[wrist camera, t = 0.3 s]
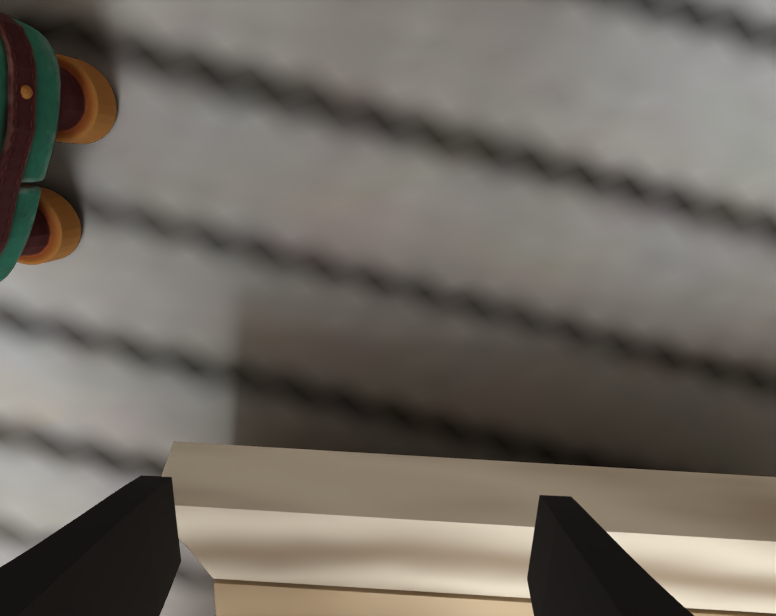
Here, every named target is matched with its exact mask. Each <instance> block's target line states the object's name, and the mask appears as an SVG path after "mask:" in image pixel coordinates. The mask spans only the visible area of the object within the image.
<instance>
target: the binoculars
mask: <svg viewBox="0 0 776 616" xmlns="http://www.w3.org/2000/svg"><path fill="white" fill-rule="evenodd" d="M116 111H117V106H116V99H115V96H114V93H113V90H112V88H111V86H110V84H109V83H108V81H107V80H106V78H105V77H104V76H103V75H102V74H101V73H100V72H99V71H98V70H97V69H96V68H94V67H93V66H92V65H90V64H88V63H86V62H84V61H82V60H79V59H75V58H71V57H68V56H64V55H60V54H55V52H54V49H53V48H52V46H51V44H50V43H49V41H48V40H47V39H46V38H45V37H44V36H43V35H42V34H41V33H40V32H39V31H37V30H36V29H34V28H33V27H31V26H29V25H27V24H25V23H23V22H20V21H18V20H16V19H14V18H11V17H10V16H8V15H6V14H3V13H1V12H0V281H2V280H3V279H4V278H6V277H7V276H8V274H9V273H10V272H11V270H12V269H13V268H14V266H15V264H16V263H17V262H19V263H23V264H28V265H36V264H41V263H45V262H49V261H53V260H57V259H61V258H64V257H66V256H68V255H70V254H71V253H72V252H73V251H74V250H75V249H76V247H77V246H78V244H79V242H80V238H81V225H80V221H79V218H78V216H77V214H76V212H75V210H74V209H73V207H72V206H71V205H70V203H69V202H67V201H66V200H65V199H64V198H63V197H62V196H60V195H59V194H57V193H55V192H54V191H51V190H49V189H46V188H43V187H38V186H32V185H21V182H37V181H42V180H43V179H44V178H45V176H46V172H47V169H48V165H49V162H50V158H51V155H52V151H53V147H54V142H55V141H57V142H64V143H75V144H88V143H92V142H96V141H98V140H99V139H101V138H103V137H104V136H105V135H106V134H107V133H109V131H110V130H111V128H112V126H113V125H114V122H115V118H116ZM20 185H21V186H20Z"/></svg>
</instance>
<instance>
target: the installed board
mask: <svg viewBox="0 0 776 616" xmlns="http://www.w3.org/2000/svg"><path fill="white" fill-rule="evenodd" d="M214 595H215V608H216V616H534V613H533V608H532V603H531V598H518V597H502V596H486V595H470V594H454V593H438V592H422V591H406V590H390V589H374V588H357V587H341V586H325V585H309V584H293V583H277V582H261V581H245V580H229V579H215V581H214ZM686 609H687V610H688V611H689V612H691V613H692V614H693V615H694V616H776V614H775V613H759V612H743V611H727V610H711V609H695V608H686Z"/></svg>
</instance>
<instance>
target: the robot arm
mask: <svg viewBox="0 0 776 616" xmlns="http://www.w3.org/2000/svg"><path fill="white" fill-rule="evenodd" d="M180 562H181V557H180V548H179V539H178V529H177V520H176V511H175V502H174V493H173V484H172V477H159V476H140V477H138V478H137V479H135V480H133V481H132V482H130V483H128V484H127V485H125V486H124V487H122V488H121V489H119V490H118V491H116V492H115V493H113V494H112V495H110V496H109V497H107V498H106V499H104V500H103V501H101V502H100V503H98V504H97V505H95V506H94V507H92V508H91V509H89V510H88V511H86V512H85V513H84V514H82V515H81V516H79V517H78V518H76V519H75V520H73V521H72V522H70V523H69V524H67V525H66V526H64V527H63V528H61V529H60V530H58V531H57V532H55V533H54V534H52V535H51V536H49V537H48V538H46V539H45V540H43V541H42V542H40V543H39V544H37V545H35V546H34V547H32V548H31V549H29V550H28V551H26V552H24V553H23V554H21V555H20V556H18V557H16V558H15V559H13V560H12V561H10V562H8V563H7V564H5V565H3V566H2V567H0V616H159V615H160V613H161V610H162V608H163V606H164V603H165V601H166V598H167V596H168V593H169V591H170V588H171V586H172V583H173V581H174V578H175V575H176V573H177V570H178V567H179V565H180ZM527 582H528V587H529V592H530V598H531V603H532V608H533V613H534V616H694V615H693V614H692V613H691V612H689V611H688V610H687V609H686V608H685V607H684V606H683V605H682V604H680V603H679V602H678V601H677V600H676V599H675V598H674V597H673V596H672V595H671V594H670V593H668V592H667V591H666V590H665V589H664V588H663V587H662V586H661V585H660V584H659V583H658V582H657V581H656V580H655V579H654V578H652V577H651V576H650V575H649V574H648V573H647V572H646V571H645V570H644V569H643V568H642V567H641V566H640V565H639V564H638V563H637V562H636V561H635V560H634V559H633V558H632V557H631V556H630V555H629V554H628V553H627V552H626V551H625V550H624V549H623V548H622V547H621V546H620V545H619V544H618V543H617V542H616V541H615V540H614V539H613V538H612V537H611V536H610V535H609V534H608V533H607V532H606V531H605V530H604V529H603V528H602V527H601V526H600V525H599V524H598V523H597V522H596V521H595V520H594V519H593V518H592V517H591V516H590V515H589V514H588V513H587V512H586V511H585V510H584V509H583V508H582V507H581V506H580V505H579V504H578V503H577V502H576V501H575V500H574V499H573V498H572V497H571V496H551V495H539V502H538V509H537V515H536V522H535V528H534V535H533V542H532V548H531V555H530V562H529V568H528V575H527Z"/></svg>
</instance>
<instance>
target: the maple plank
mask: <svg viewBox="0 0 776 616" xmlns="http://www.w3.org/2000/svg"><path fill="white" fill-rule="evenodd" d="M161 477H172V484H173V493H174V502H175V511H176V520H177V529H178V537H179V538H180V539H181V540H182V542H183V543H184V544H185V545H186V546H187V548H188V549H189V550H190V551H191V552H192V554H193V555H194V556H195V557H196V558H197V560H198V561H199V562H200V563H201V564H202V566H203V567H204V568H205V569H206V570H207V572H208V573H209V574H210V575H211V576H212V578H213V579H229V580H245V581H261V582H277V583H293V584H309V585H325V586H341V587H357V588H374V589H390V590H406V591H422V592H438V593H454V594H470V595H486V596H502V597H518V598H530V592H529V587H528V582H527V575H528V568H529V562H530V555H531V548H532V542H533V535H534V528H535V522H536V515H537V509H538V502H539V495H551V496H571V497H572V498H573V499H574V500H575V501H576V502H577V503H578V504H579V505H580V506H581V507H582V508H583V509H584V510H585V511H586V512H587V513H588V514H589V515H590V516H591V517H592V518H593V519H594V520H595V521H596V522H597V523H598V524H599V525H600V526H601V527H602V528H603V529H604V530H605V531H606V532H607V533H608V534H609V535H610V536H611V537H612V538H613V539H614V540H615V541H616V542H617V543H618V544H619V545H620V546H621V547H622V548H623V549H624V550H625V551H626V552H627V553H628V554H629V555H630V556H631V557H632V558H633V559H634V560H635V561H636V562H637V563H638V564H639V565H640V566H641V567H642V568H643V569H644V570H645V571H646V572H647V573H648V574H649V575H650V576H651V577H652V578H654V579H655V580H656V581H657V582H658V583H659V584H660V585H661V586H662V587H663V588H664V589H665V590H666V591H667V592H668V593H670V594H671V595H672V596H673V597H674V598H675V599H676V600H677V601H678V602H679V603H680V604H682V605H683V606H684V607H685V608H695V609H711V610H727V611H743V612H759V613H775V614H776V477H765V476H748V475H731V474H714V473H697V472H680V471H663V470H646V469H629V468H612V467H596V466H579V465H562V464H545V463H528V462H511V461H494V460H477V459H460V458H443V457H426V456H409V455H392V454H375V453H358V452H341V451H324V450H307V449H290V448H273V447H256V446H239V445H222V444H205V443H188V442H174V443H173V445H172V448H171V451H170V454H169V456H168V459H167V462H166V465H165V467H164V470H163V473H162V476H161Z"/></svg>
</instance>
